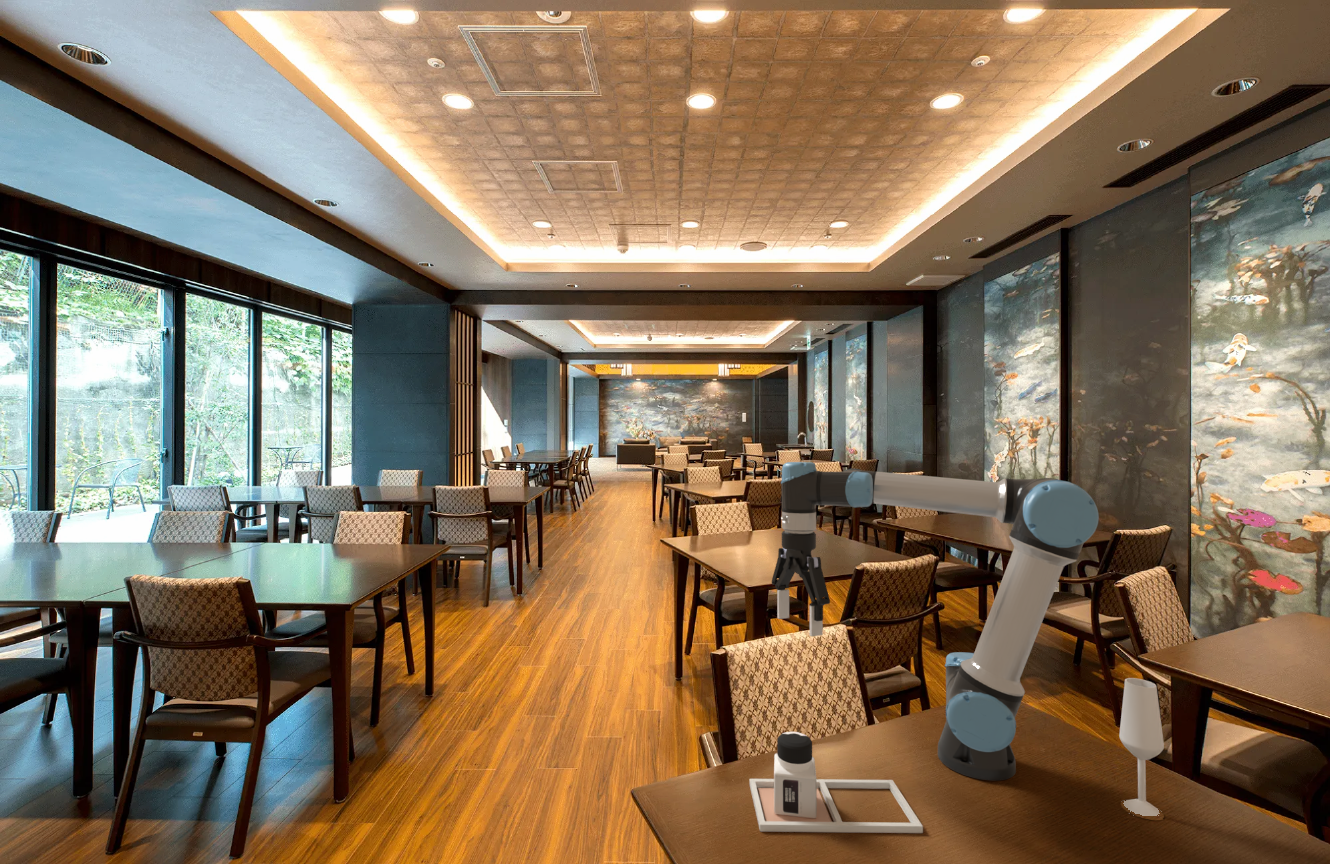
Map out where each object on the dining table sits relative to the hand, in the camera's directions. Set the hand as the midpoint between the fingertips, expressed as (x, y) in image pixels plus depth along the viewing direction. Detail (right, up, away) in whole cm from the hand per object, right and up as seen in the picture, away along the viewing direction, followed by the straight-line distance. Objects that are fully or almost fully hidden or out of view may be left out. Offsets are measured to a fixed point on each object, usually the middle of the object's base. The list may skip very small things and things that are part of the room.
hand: (798, 626), depth 136 cm
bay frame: (+2, -28, -20) cm, 34 cm away
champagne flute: (+61, -29, -20) cm, 70 cm away
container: (-5, -28, -19) cm, 35 cm away
